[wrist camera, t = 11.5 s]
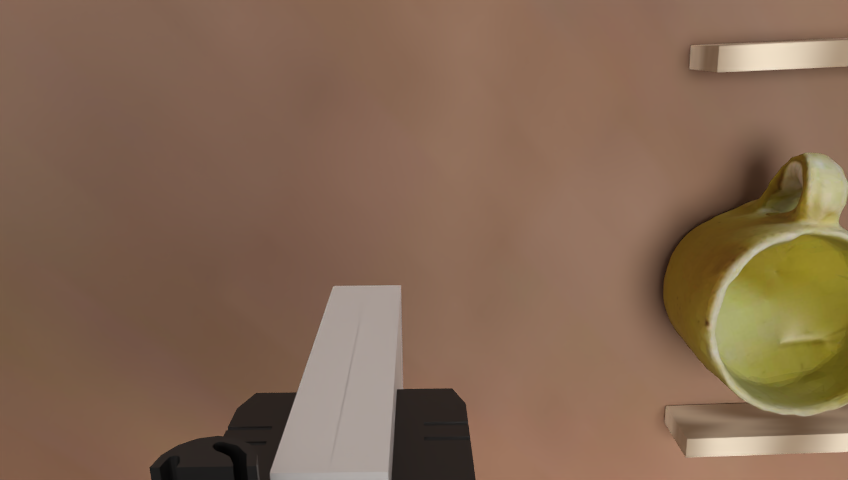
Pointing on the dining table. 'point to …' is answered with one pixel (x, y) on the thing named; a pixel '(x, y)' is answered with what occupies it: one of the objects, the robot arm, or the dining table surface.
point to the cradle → (742, 422)
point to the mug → (771, 292)
